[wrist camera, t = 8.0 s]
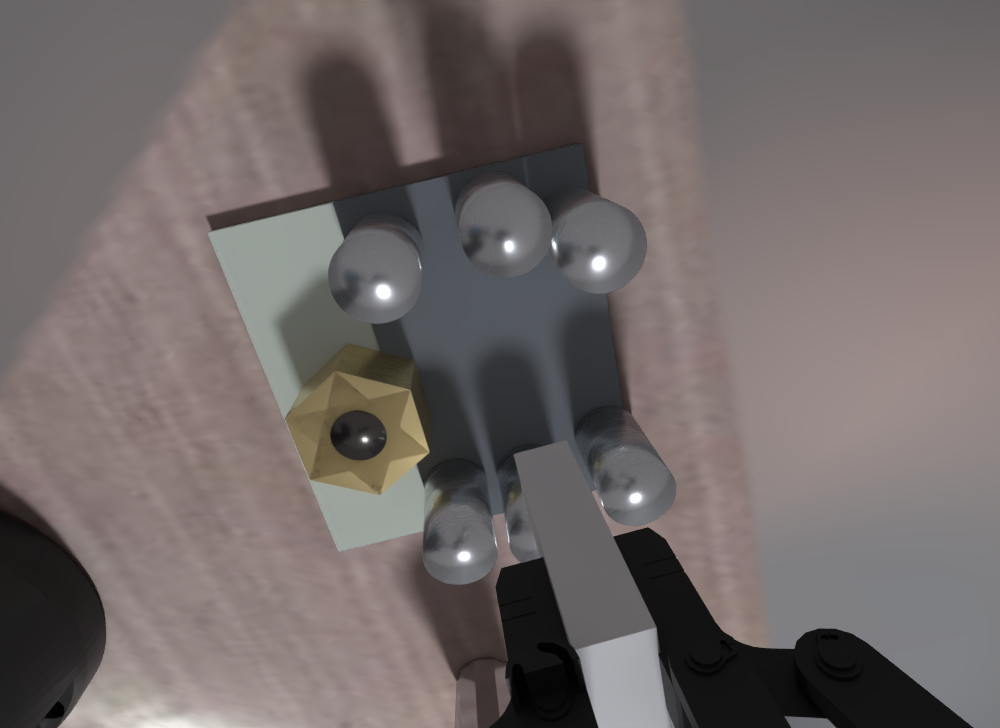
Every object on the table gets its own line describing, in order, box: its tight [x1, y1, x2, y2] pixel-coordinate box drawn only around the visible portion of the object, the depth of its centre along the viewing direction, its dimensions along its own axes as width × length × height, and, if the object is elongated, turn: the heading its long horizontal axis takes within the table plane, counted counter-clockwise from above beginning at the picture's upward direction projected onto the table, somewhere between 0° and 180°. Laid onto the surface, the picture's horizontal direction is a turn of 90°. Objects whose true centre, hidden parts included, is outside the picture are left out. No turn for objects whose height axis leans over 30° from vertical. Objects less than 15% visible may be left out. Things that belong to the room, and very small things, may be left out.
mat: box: [208, 143, 623, 552], centre depth 27 cm, size 15×16×1 cm
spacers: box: [328, 172, 676, 585], centre depth 24 cm, size 10×15×5 cm
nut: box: [285, 343, 432, 495], centre depth 25 cm, size 6×5×3 cm
